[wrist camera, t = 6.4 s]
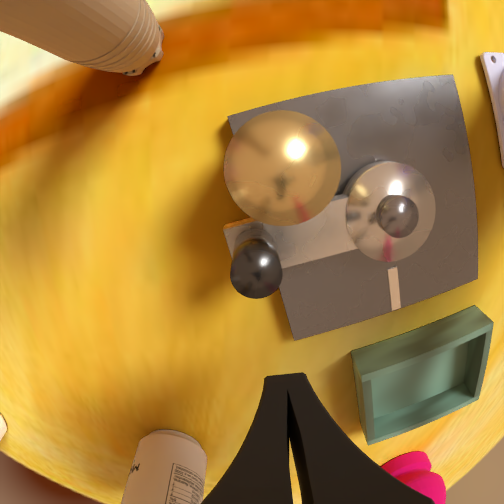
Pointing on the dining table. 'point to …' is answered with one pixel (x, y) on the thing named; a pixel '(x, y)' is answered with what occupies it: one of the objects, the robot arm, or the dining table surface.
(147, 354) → the dining table surface
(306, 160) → the pin
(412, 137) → the crank base
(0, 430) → the can
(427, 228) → the crank
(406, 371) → the tray
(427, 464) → the pepper mill
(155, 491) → the energy drink can
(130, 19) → the handle
